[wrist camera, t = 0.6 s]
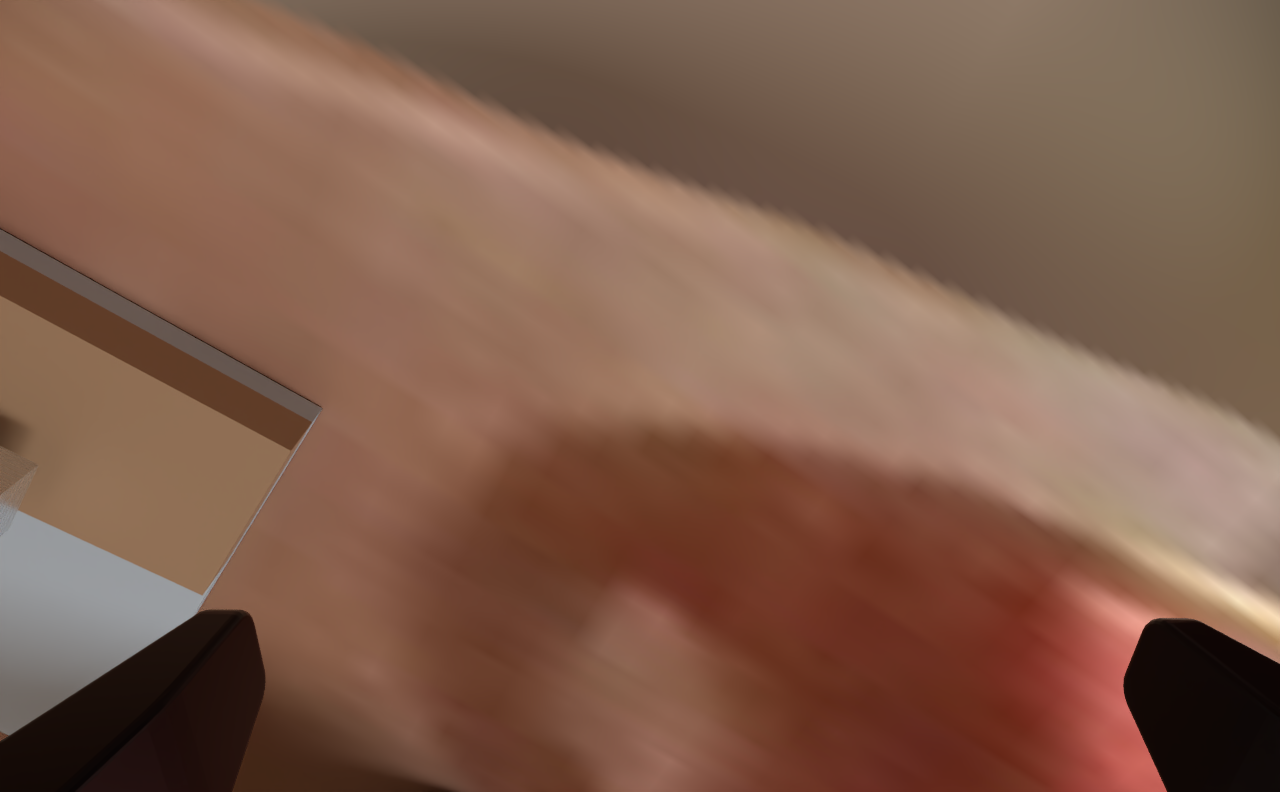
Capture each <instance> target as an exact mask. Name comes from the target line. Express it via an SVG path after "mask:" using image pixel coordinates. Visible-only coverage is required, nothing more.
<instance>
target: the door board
mask: <svg viewBox="0 0 1280 792" xmlns="http://www.w3.org/2000/svg"><path fill="white" fill-rule="evenodd" d="M321 410H322V408H321V407H319V406H317V405H315V404H314V403H312V402H310V401H308V400H306V399H305V398H303V397H301V396H299V395H297V394H296V393H294V392H292V391H290V390H288V389H287V388H285V387H283V386H281V385H279V384H278V383H276V382H274V381H272V380H270V379H269V378H267V377H265V376H263V375H261V374H260V373H258V372H256V371H254V370H252V369H251V368H249V367H247V366H245V365H243V364H242V363H240V362H238V361H236V360H234V359H233V358H231V357H229V356H227V355H225V354H224V353H222V352H220V351H218V350H216V349H215V348H213V347H211V346H209V345H207V344H206V343H204V342H202V341H200V340H199V339H197V338H195V337H193V336H191V335H190V334H188V333H186V332H184V331H182V330H181V329H179V328H177V327H175V326H173V325H172V324H170V323H168V322H166V321H164V320H163V319H161V318H159V317H157V316H155V315H154V314H152V313H150V312H148V311H146V310H145V309H143V308H141V307H139V306H137V305H136V304H134V303H132V302H130V301H128V300H127V299H125V298H123V297H121V296H119V295H118V294H116V293H114V292H112V291H110V290H109V289H107V288H105V287H103V286H101V285H100V284H98V283H96V282H94V281H92V280H91V279H89V278H87V277H85V276H84V275H82V274H80V273H78V272H76V271H75V270H73V269H71V268H69V267H67V266H66V265H64V264H62V263H60V262H58V261H57V260H55V259H53V258H51V257H49V256H48V255H46V254H44V253H42V252H40V251H39V250H37V249H35V248H33V247H31V246H30V245H28V244H26V243H24V242H22V241H21V240H19V239H17V238H15V237H13V236H12V235H10V234H8V233H6V232H4V231H3V230H1V229H0V446H1V447H3V448H5V449H7V450H9V451H11V452H13V453H15V454H17V455H19V456H22V457H24V458H26V459H28V460H30V461H32V462H34V463H36V464H38V468H37V470H36V472H35V474H34V476H33V478H32V481H31V483H30V485H29V487H28V489H27V491H26V494H25V496H24V498H23V500H22V502H21V504H20V507H19V509H18V511H17V513H16V515H15V517H14V520H13V522H12V524H11V526H10V528H9V530H8V531H6V532H5V533H4V534H3V535H2V536H1V537H0V732H2V733H4V734H7V735H11V734H12V733H14V732H15V731H17V730H18V729H20V728H21V727H23V726H25V725H26V724H28V723H29V722H31V721H32V720H34V719H35V718H37V717H38V716H40V715H42V714H43V713H45V712H46V711H48V710H49V709H51V708H52V707H54V706H55V705H57V704H59V703H60V702H62V701H63V700H65V699H66V698H68V697H69V696H71V695H72V694H74V693H75V692H77V691H79V690H80V689H82V688H83V687H85V686H86V685H88V684H89V683H91V682H92V681H94V680H96V679H97V678H99V677H100V676H102V675H103V674H105V673H106V672H108V671H109V670H111V669H113V668H114V667H116V666H117V665H119V664H120V663H122V662H123V661H125V660H126V659H128V658H129V657H131V656H133V655H134V654H136V653H137V652H139V651H140V650H142V649H143V648H145V647H146V646H148V645H150V644H151V643H153V642H154V641H156V640H157V639H159V638H160V637H162V636H163V635H165V634H166V633H168V632H170V631H171V630H173V629H174V628H176V627H177V626H179V625H180V624H182V623H183V622H185V621H187V620H188V619H190V618H191V617H193V616H194V615H196V613H197V612H198V610H199V609H200V607H201V605H202V604H203V602H204V600H205V599H206V597H207V596H208V594H209V592H210V591H211V589H212V587H213V586H214V584H215V583H216V581H217V579H218V578H219V576H220V574H221V573H222V571H223V570H224V568H225V566H226V565H227V563H228V561H229V560H230V558H231V557H232V555H233V553H234V552H235V550H236V548H237V547H238V545H239V544H240V542H241V540H242V539H243V537H244V535H245V534H246V532H247V530H248V529H249V527H250V526H251V524H252V522H253V521H254V519H255V517H256V516H257V514H258V513H259V511H260V509H261V508H262V506H263V504H264V503H265V501H266V500H267V498H268V496H269V495H270V493H271V491H272V490H273V488H274V487H275V485H276V483H277V482H278V480H279V478H280V477H281V475H282V474H283V472H284V470H285V469H286V467H287V465H288V464H289V462H290V461H291V459H292V457H293V456H294V454H295V452H296V451H297V449H298V448H299V446H300V444H301V443H302V441H303V439H304V438H305V436H306V435H307V433H308V431H309V430H310V428H311V426H312V425H313V423H314V422H315V420H316V418H317V417H318V415H319V413H320V412H321Z"/></svg>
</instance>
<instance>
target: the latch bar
mask: <svg viewBox="0 0 1280 792" xmlns="http://www.w3.org/2000/svg"><path fill="white" fill-rule="evenodd" d="M37 468H38V464H36V463H34V462H32V461H30V460H28V459H26V458H24V457H22V456H19V455H17V454H15V453H13V452H11V451H9V450H7V449H5V448H3V447H1V446H0V537H1V536H2V535H3V534H4V533H5V532H6V531H8V530H9V528H10V526H11V524H12V522H13V520H14V517H15V515H16V513H17V511H18V509H19V507H20V504H21V502H22V500H23V498H24V496H25V494H26V491H27V489H28V487H29V485H30V483H31V481H32V478H33V476H34V474H35V472H36V470H37Z"/></svg>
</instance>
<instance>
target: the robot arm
mask: <svg viewBox="0 0 1280 792" xmlns="http://www.w3.org/2000/svg"><path fill="white" fill-rule="evenodd" d="M1123 687H1124V695H1125V699H1126V702H1127V705H1128V707H1129V709H1130V711H1131V713H1132V716H1133V718H1134V720H1135V722H1136V724H1137V727H1138V729H1139V731H1140V733H1141V735H1142V738H1143V740H1144V742H1145V744H1146V746H1147V748H1148V751H1149V753H1150V755H1151V757H1152V759H1153V762H1154V764H1155V766H1156V768H1157V770H1158V772H1159V775H1160V777H1161V779H1162V781H1163V783H1164V786H1165V788H1166V790H1167V792H1280V664H1279V663H1277V662H1275V661H1273V660H1272V659H1270V658H1268V657H1266V656H1264V655H1262V654H1260V653H1258V652H1257V651H1255V650H1253V649H1251V648H1249V647H1247V646H1245V645H1243V644H1242V643H1240V642H1238V641H1236V640H1234V639H1232V638H1230V637H1228V636H1227V635H1225V634H1223V633H1221V632H1219V631H1217V630H1215V629H1213V628H1212V627H1210V626H1208V625H1206V624H1204V623H1202V622H1200V621H1197V620H1194V619H1187V618H1158V619H1154V620H1151V621H1150V622H1149V623H1148V624H1147V625H1146V626H1145V627H1144V629H1143V631H1142V634H1141V636H1140V639H1139V641H1138V644H1137V646H1136V648H1135V651H1134V653H1133V656H1132V658H1131V661H1130V663H1129V666H1128V668H1127V671H1126V673H1125V677H1124V684H1123ZM264 690H265V670H264V665H263V661H262V656H261V652H260V647H259V643H258V638H257V634H256V629H255V625H254V622H253V619H252V617H251V615H250V614H249V613H248V612H246V611H243V610H205V611H202V612H200V613H198V614H196V615H194V616H193V617H191V618H190V619H188V620H187V621H185V622H183V623H182V624H180V625H179V626H177V627H176V628H174V629H173V630H171V631H170V632H168V633H166V634H165V635H163V636H162V637H160V638H159V639H157V640H156V641H154V642H153V643H151V644H150V645H148V646H146V647H145V648H143V649H142V650H140V651H139V652H137V653H136V654H134V655H133V656H131V657H129V658H128V659H126V660H125V661H123V662H122V663H120V664H119V665H117V666H116V667H114V668H113V669H111V670H109V671H108V672H106V673H105V674H103V675H102V676H100V677H99V678H97V679H96V680H94V681H92V682H91V683H89V684H88V685H86V686H85V687H83V688H82V689H80V690H79V691H77V692H75V693H74V694H72V695H71V696H69V697H68V698H66V699H65V700H63V701H62V702H60V703H59V704H57V705H55V706H54V707H52V708H51V709H49V710H48V711H46V712H45V713H43V714H42V715H40V716H38V717H37V718H35V719H34V720H32V721H31V722H29V723H28V724H26V725H25V726H23V727H21V728H20V729H18V730H17V731H15V732H14V733H12V734H11V735H9V736H8V737H6V738H5V739H3V740H1V741H0V792H232V790H233V787H234V784H235V781H236V778H237V775H238V772H239V769H240V766H241V763H242V760H243V757H244V754H245V751H246V748H247V745H248V742H249V739H250V736H251V733H252V730H253V726H254V723H255V720H256V717H257V714H258V711H259V708H260V705H261V702H262V699H263V695H264Z"/></svg>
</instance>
